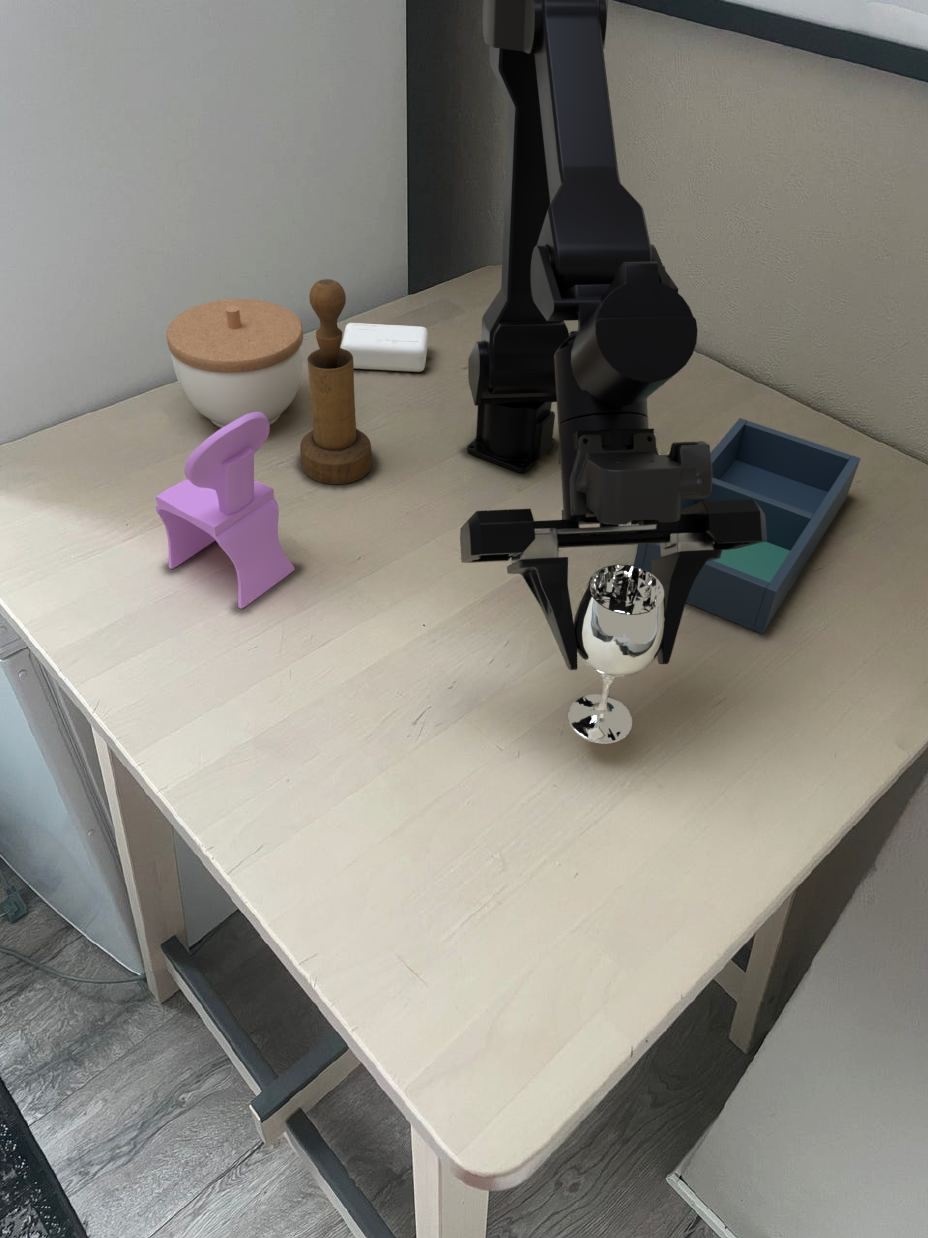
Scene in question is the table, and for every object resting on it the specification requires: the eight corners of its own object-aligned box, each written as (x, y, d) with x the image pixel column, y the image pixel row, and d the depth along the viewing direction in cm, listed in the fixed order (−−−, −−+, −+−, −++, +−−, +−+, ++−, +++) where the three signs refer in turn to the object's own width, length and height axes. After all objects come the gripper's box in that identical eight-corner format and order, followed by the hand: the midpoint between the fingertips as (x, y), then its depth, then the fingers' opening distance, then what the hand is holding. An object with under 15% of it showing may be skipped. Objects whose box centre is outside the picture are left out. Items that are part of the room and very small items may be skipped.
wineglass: (587, 762, 68) (612, 632, 60) (543, 704, 72) (561, 573, 63) (658, 734, 70) (692, 604, 62) (611, 678, 74) (638, 549, 66)
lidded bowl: (196, 457, 97) (178, 350, 89) (168, 392, 105) (150, 289, 97) (325, 432, 101) (318, 328, 93) (288, 371, 109) (279, 271, 101)
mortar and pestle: (288, 473, 95) (271, 289, 83) (321, 439, 100) (309, 258, 87) (352, 491, 94) (344, 306, 81) (383, 455, 98) (380, 274, 86)
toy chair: (228, 523, 89) (205, 368, 79) (303, 563, 86) (290, 406, 76) (155, 571, 84) (120, 412, 74) (232, 616, 81) (207, 455, 71)
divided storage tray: (630, 580, 86) (638, 537, 83) (729, 457, 100) (739, 417, 97) (762, 634, 82) (776, 591, 79) (846, 498, 96) (860, 457, 93)
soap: (428, 349, 114) (428, 324, 112) (424, 374, 110) (425, 348, 108) (346, 345, 114) (345, 319, 112) (340, 369, 110) (339, 343, 108)
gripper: (474, 397, 57) (491, 680, 56) (797, 387, 59) (815, 659, 58) (453, 438, 68) (466, 675, 67) (725, 428, 70) (740, 657, 70)
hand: (618, 667), depth 65 cm, fingers closed on wineglass, 5 cm apart
